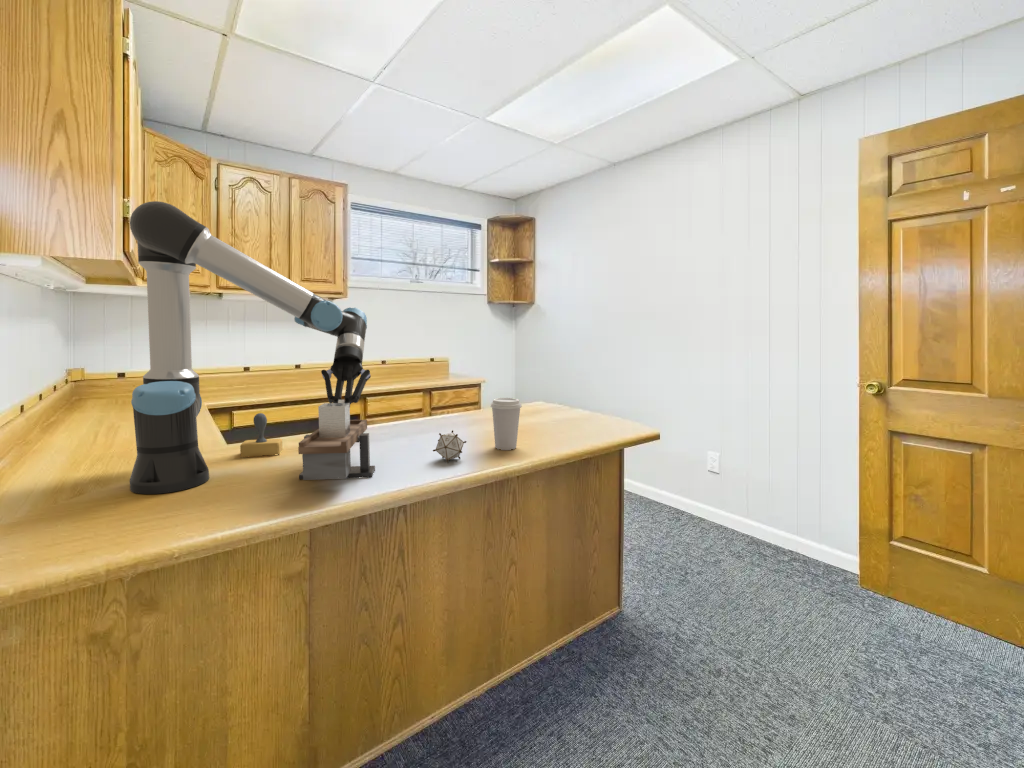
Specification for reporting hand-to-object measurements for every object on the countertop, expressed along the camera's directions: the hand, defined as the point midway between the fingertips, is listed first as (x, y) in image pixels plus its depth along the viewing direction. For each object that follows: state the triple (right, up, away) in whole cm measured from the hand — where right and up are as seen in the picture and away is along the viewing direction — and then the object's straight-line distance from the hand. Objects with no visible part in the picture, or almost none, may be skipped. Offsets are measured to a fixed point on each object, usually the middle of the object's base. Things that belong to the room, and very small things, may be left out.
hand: (339, 423), depth 122 cm
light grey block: (0, -2, -4) cm, 5 cm away
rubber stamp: (-29, -10, +18) cm, 35 cm away
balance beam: (0, -10, -2) cm, 10 cm away
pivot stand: (0, -13, -1) cm, 13 cm away
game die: (+26, -11, +13) cm, 32 cm away
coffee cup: (+42, -10, +27) cm, 51 cm away
